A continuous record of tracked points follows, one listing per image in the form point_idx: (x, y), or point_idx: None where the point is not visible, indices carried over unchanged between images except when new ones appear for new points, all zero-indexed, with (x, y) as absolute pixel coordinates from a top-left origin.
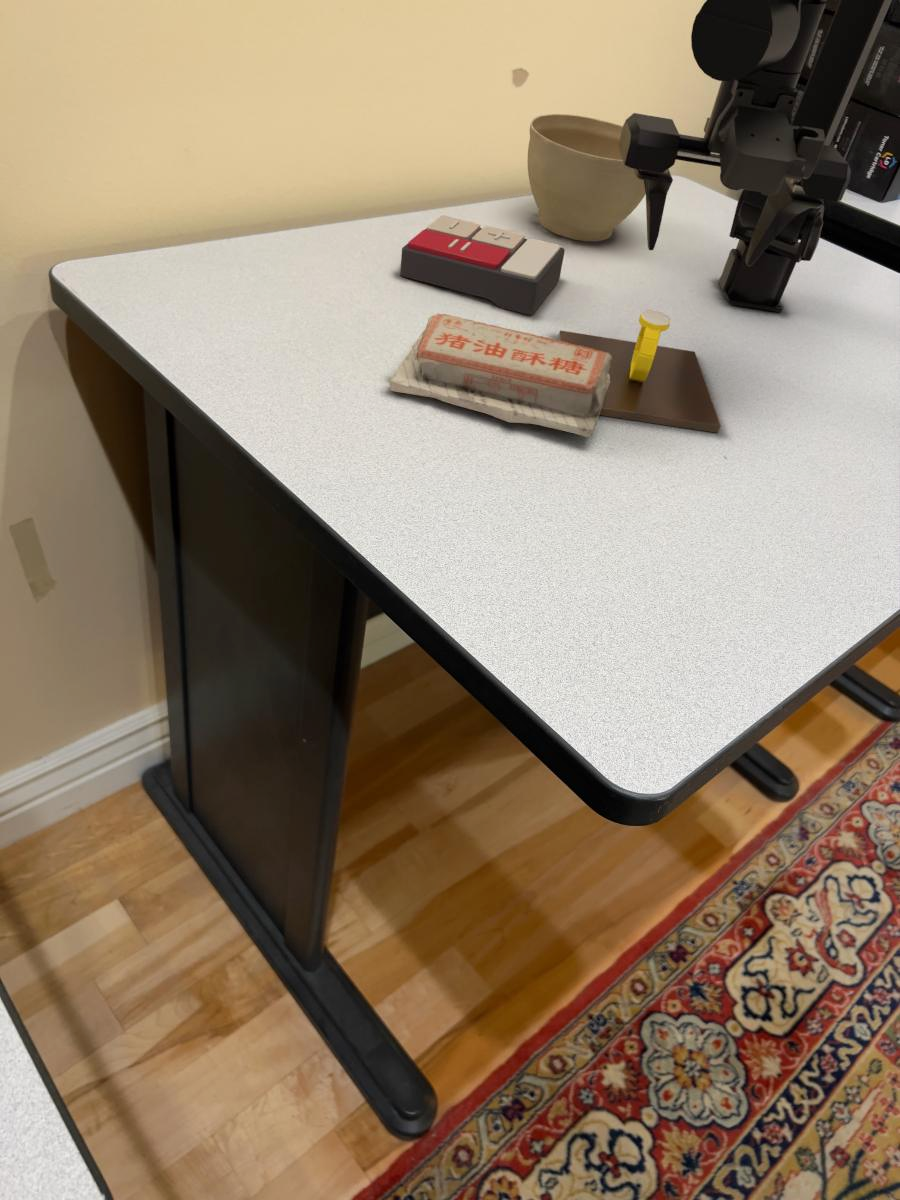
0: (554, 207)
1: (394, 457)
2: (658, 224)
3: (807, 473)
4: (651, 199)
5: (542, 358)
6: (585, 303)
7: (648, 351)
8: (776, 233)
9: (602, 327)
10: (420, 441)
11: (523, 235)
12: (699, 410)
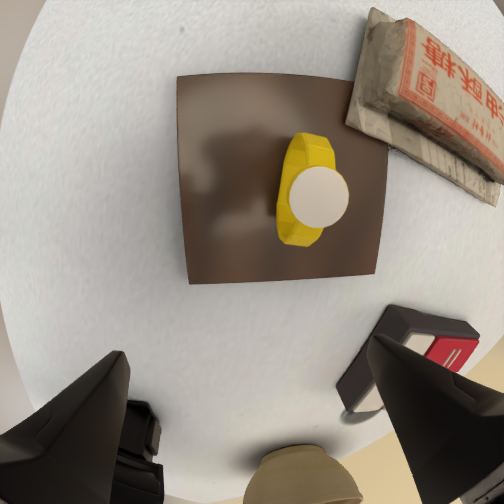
0: (328, 459)
1: (483, 33)
2: (416, 367)
3: (84, 45)
4: (485, 389)
5: (461, 79)
6: (316, 360)
7: (316, 137)
8: (50, 404)
9: (307, 316)
10: (477, 48)
11: (385, 408)
12: (203, 105)
